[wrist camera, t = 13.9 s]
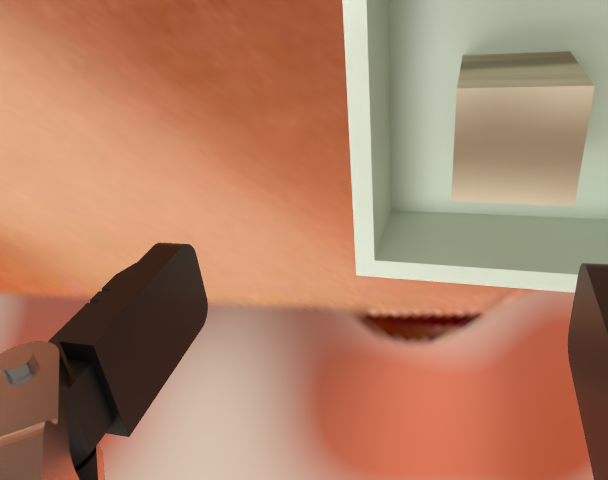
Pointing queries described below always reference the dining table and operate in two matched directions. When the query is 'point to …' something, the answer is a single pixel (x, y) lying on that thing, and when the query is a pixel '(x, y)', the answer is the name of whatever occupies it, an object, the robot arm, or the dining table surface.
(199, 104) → the dining table surface
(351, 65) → the bin
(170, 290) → the robot arm
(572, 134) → the block
